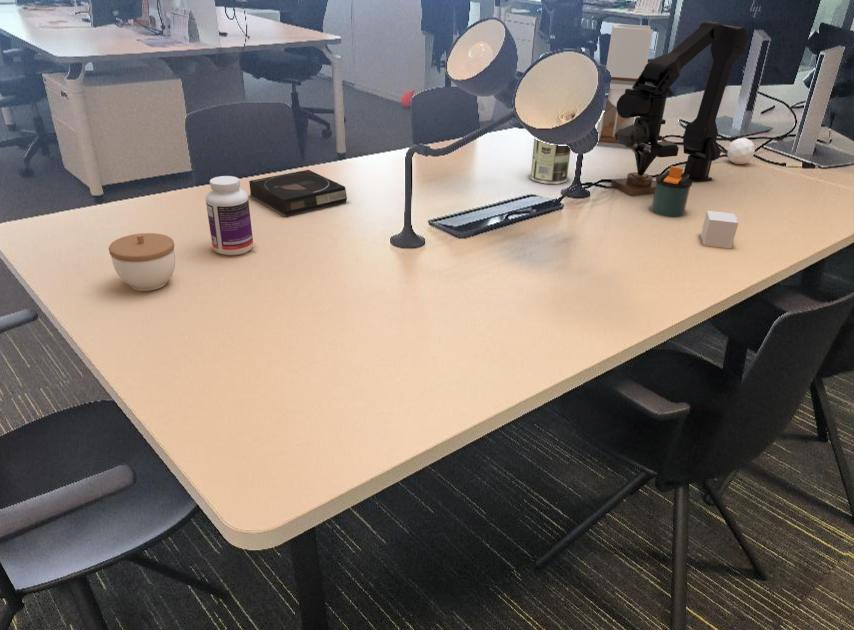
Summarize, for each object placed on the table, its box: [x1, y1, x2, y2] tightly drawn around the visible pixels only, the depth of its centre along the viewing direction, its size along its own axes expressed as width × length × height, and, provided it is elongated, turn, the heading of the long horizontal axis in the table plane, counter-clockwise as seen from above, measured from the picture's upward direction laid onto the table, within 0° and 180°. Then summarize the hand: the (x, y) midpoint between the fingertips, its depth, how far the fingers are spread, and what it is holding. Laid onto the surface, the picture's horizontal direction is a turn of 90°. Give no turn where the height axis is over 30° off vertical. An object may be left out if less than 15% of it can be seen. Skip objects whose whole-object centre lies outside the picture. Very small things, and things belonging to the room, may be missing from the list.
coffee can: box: [529, 137, 571, 185], centre depth 190 cm, size 10×10×14 cm
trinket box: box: [108, 232, 176, 292], centre depth 125 cm, size 11×11×9 cm
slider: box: [663, 165, 684, 184], centre depth 168 cm, size 5×3×3 cm
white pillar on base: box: [596, 23, 654, 149], centre depth 221 cm, size 11×11×35 cm
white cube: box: [700, 210, 739, 249], centre depth 156 cm, size 6×6×6 cm
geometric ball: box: [726, 137, 756, 165], centre depth 213 cm, size 8×8×8 cm
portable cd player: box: [248, 169, 348, 218], centre depth 168 cm, size 16×17×4 cm
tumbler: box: [650, 170, 693, 218], centre depth 172 cm, size 9×9×9 cm
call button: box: [633, 172, 647, 179], centre depth 187 cm, size 4×4×2 cm
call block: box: [610, 171, 657, 197], centre depth 188 cm, size 11×9×4 cm
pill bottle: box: [205, 175, 254, 256], centre depth 139 cm, size 8×8×14 cm
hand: (640, 174), depth 187 cm, fingers closed, pressing on call button
